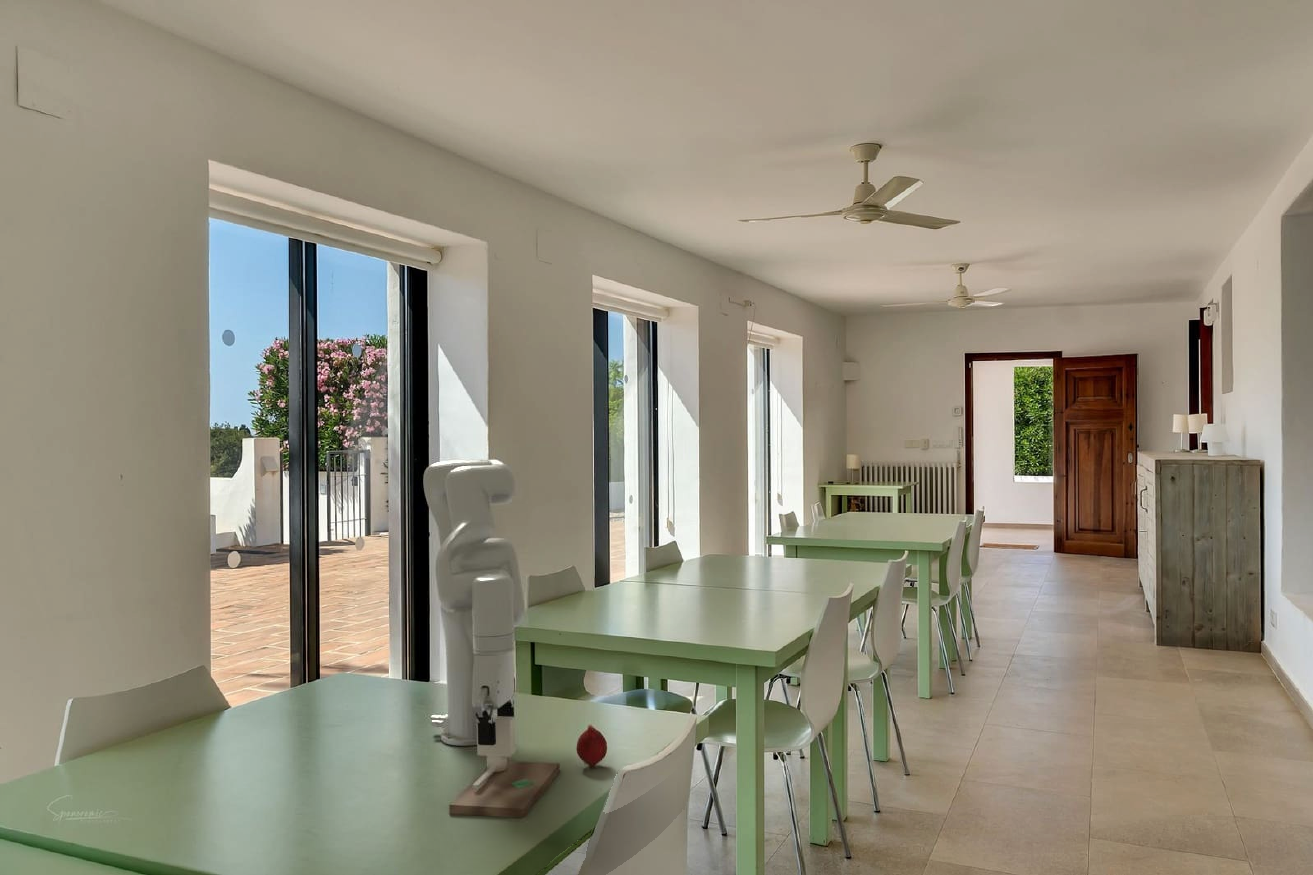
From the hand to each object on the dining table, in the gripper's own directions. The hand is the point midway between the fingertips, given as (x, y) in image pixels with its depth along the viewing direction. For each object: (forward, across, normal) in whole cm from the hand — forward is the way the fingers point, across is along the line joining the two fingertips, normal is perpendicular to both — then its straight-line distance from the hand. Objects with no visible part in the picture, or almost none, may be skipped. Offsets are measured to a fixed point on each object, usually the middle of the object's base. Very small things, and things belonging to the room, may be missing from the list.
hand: (496, 736), depth 168 cm
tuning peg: (+6, +4, 0) cm, 7 cm away
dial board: (+8, +5, +4) cm, 10 cm away
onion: (+8, -9, +16) cm, 20 cm away
